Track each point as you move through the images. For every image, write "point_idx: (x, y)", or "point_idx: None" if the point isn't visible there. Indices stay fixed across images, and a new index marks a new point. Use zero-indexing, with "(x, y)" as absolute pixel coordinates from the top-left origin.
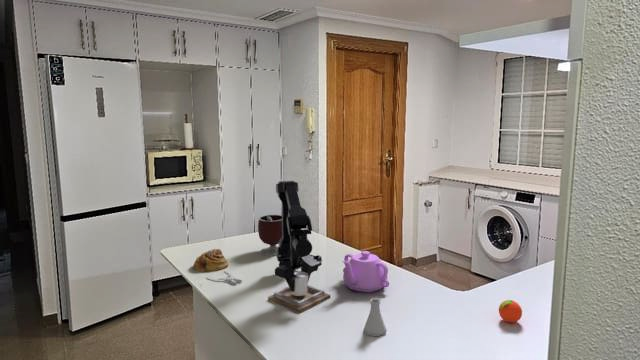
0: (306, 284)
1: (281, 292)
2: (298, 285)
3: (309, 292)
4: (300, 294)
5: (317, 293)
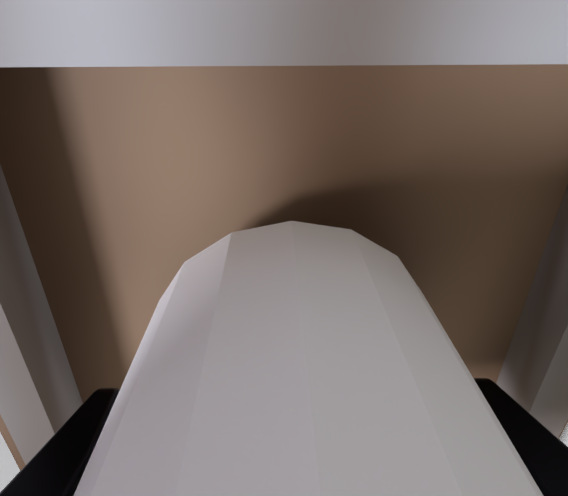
0: (246, 377)
1: None
2: (514, 450)
3: (83, 275)
4: (388, 262)
5: (53, 35)
